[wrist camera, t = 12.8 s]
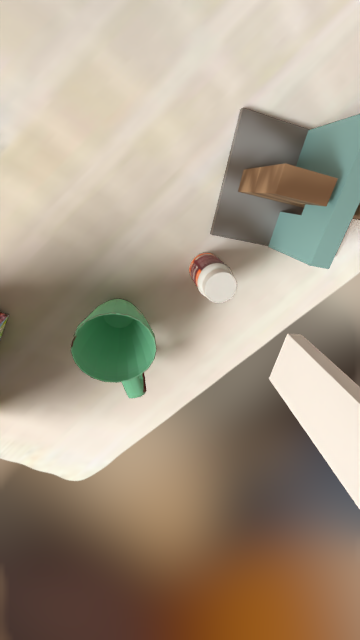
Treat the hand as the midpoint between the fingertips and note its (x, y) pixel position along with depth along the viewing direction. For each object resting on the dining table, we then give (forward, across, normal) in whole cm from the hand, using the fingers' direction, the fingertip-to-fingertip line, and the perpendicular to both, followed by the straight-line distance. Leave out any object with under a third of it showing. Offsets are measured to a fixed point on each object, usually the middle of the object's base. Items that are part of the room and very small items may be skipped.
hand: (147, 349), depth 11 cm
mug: (+27, -1, -14) cm, 30 cm away
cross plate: (+26, +20, +9) cm, 34 cm away
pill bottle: (+27, +10, -3) cm, 29 cm away
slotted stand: (+26, +20, +9) cm, 34 cm away
